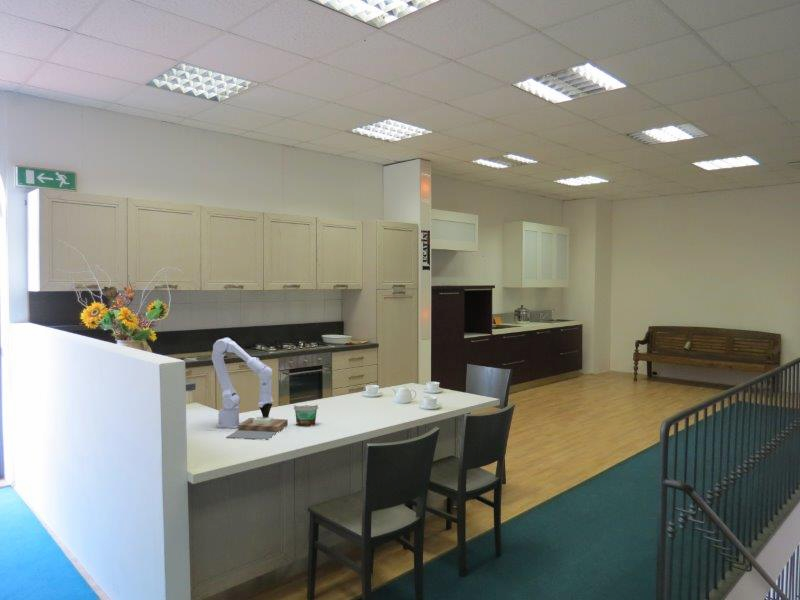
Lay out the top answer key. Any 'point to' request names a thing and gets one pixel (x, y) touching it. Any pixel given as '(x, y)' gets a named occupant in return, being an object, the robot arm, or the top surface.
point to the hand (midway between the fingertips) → (265, 418)
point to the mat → (251, 434)
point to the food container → (305, 415)
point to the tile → (263, 420)
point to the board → (263, 425)
